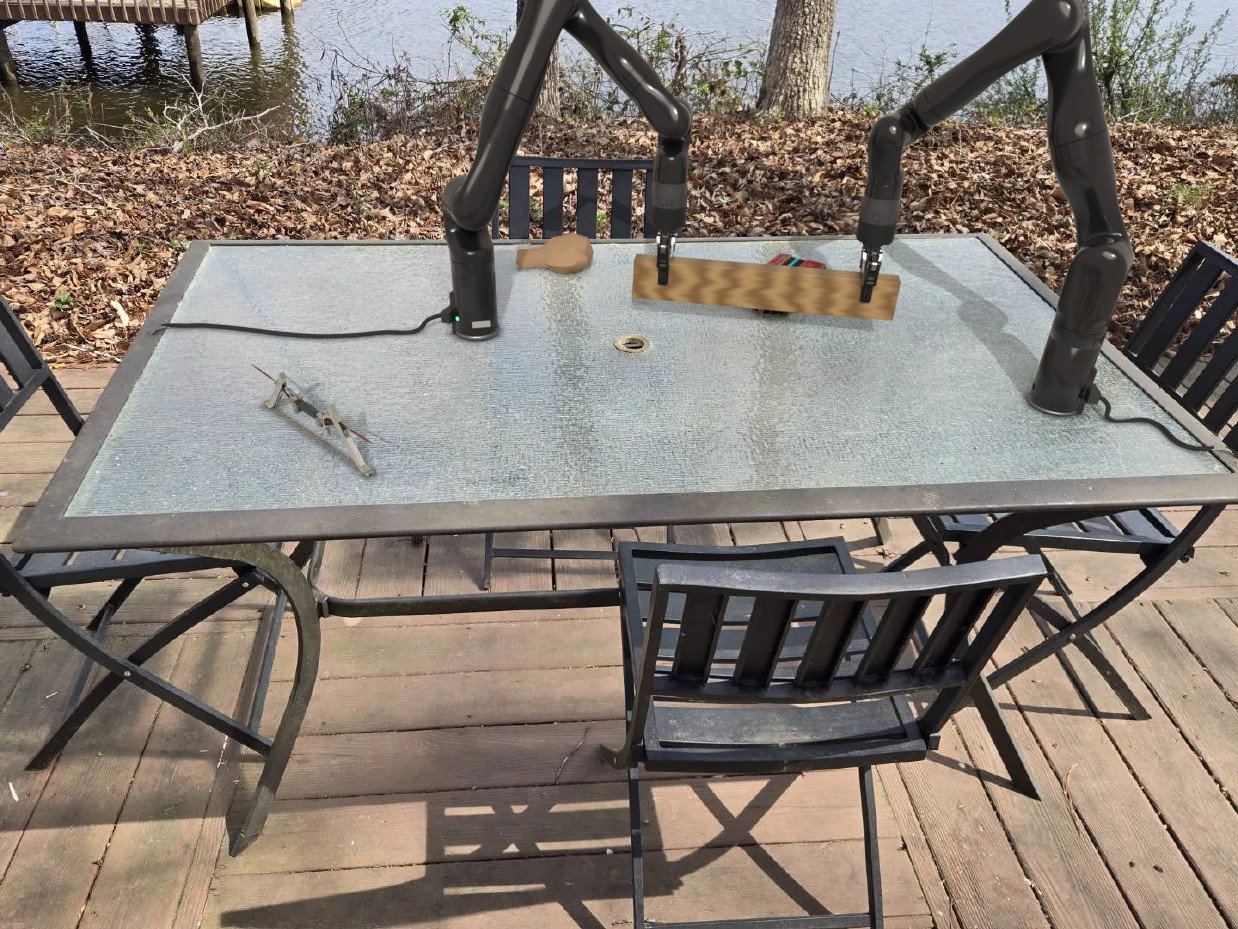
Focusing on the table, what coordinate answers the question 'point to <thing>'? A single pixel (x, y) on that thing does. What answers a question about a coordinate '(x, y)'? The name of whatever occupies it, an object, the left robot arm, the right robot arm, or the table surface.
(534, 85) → the left robot arm
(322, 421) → the bow
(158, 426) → the table surface
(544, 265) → the squash
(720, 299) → the post
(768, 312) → the gun
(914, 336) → the table surface
